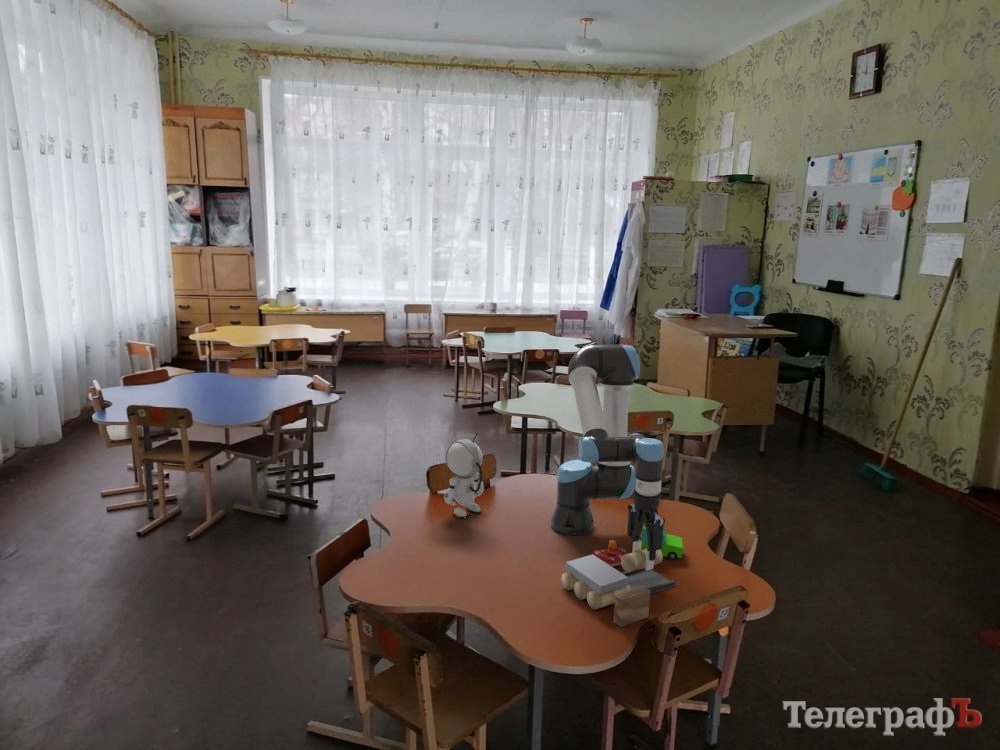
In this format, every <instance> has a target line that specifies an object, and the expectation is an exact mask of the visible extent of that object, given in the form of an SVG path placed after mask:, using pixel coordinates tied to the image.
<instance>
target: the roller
mask: <svg viewBox="0 0 1000 750" xmlns="http://www.w3.org/2000/svg"><path fill="white" fill-rule="evenodd" d="M663 557H664V556H663V555H662V552H661V550H657V551H656V558H655V560H654V566H655V565H659V564H661V563H662V562H663V559H664V558H663ZM645 560H646V549H644V550H641V551H637V552H633V551H632V552H631V553H630V552H629V553H628V554H626V555H623V556H622V558H621V565H620V566H621V567H622V569H623V570H624V572H625V571H626V572H631V571H635V570H638V569H642V568H645Z"/></svg>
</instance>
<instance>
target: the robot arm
mask: <svg viewBox="0 0 1000 750" xmlns="http://www.w3.org/2000/svg"><path fill="white" fill-rule="evenodd" d="M640 373H641V363H640V357H639V354H638V351H637V349H636V348H635V347H634V346H633V345H630V344H629V345H628V344H621V343H620V344H589V345H586V346H585V345H584V346H583V347H581V348H580V349H578V350H577V351H576V352H575V353H574V355H573V356H572V357H571V359H570V361H569V363H568V366H567V378H568V382H569V384H570V385H571V386H572V388H573V392H574V397H575V402H576V407H577V412H578V416H579V422H580V426H581V431H582V437H580V438H579V440H578V448H577V449H578V456H579V459H573V460H569V461H565V462H563V463H562V464H561V465H560V466H559V467H558V472H557V477H556V480H557V485H556V486H557V489H556V490H557V491H556V492H557V494H556V506H555V508H554V511H553V514H552V516H551V519H550V520H551V521H550V526H551V529H553V530H554V531H556V532H558V533H561V534H564V535H569V536H582V535H587V534H589V533H591V532H593V530H594V529H595V528H594V527H595V520H594V516H593V513H592V510H591V509H592V508H591V500H614V499H615V500H621V499H629V498H630V497H631V496H632V494H633V503H631V504H628V505H627V513H628V515H627V516H628V517H627V519H628V520H627V532H626V535H627V536H628V537H629V538H630V539H631V540H630V541H631V551H632V553H633V552H637V551H641V543H642V541H641V536H642V529H643V525H645V527H646V531H647V540H648V549H646V560H645V570H646V571H647V570H650V569H652V570H653V569H654V566H655V565H654V560H655V558H656V551H657V550H660V549H662V540H663V526H665V523H666V518H665V517H663V518H662V517H660V516H659V511H658V509H659V507H660V504H661V491H662V476H663V464H664V456H665V452H664V449H665V448H664V443H663V441H661V440H659V439H657V438H649V437H646V436H644V435H643V434H641V433H640V432H639V433H638V432H633V433H629V435H628V425H629V424H628V423H629V422H628V421H629V398H630V396H629V395H630V392H629V391H630V389H631V388H632V387H633V386H634V381H635V380H637V379H639V378H640ZM597 380H599V385H600V386H601V387H602V388H603V402H602V403H603V404H601V399H600V394H599V390H598V386H597V382H596V381H597ZM592 463H593V464H595V463H596V465H592ZM631 463H634V464H635V466H634V465H632V464H631ZM649 523H650V524H649Z"/></svg>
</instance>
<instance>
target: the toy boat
mask: <svg viewBox="0 0 1000 750" xmlns="http://www.w3.org/2000/svg"><path fill="white" fill-rule="evenodd" d="M608 541H609V542H608V548H604V549H601V550H598V549H596V550H594V551H593V553H592V554H593V555H594V556H596V557H597V558H599V559H600V560H602V561H604V562H605V563H607V564H608V565H610V566H611V567H613V568H614V567H618V566H622V565H621V558H622V556H623V555H626V554H629V552H628V551H627V550H626V549H625V548H623V547H617V542H616V541H615V540H613V539H612V540H608Z"/></svg>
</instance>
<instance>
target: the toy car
mask: <svg viewBox="0 0 1000 750" xmlns="http://www.w3.org/2000/svg"><path fill="white" fill-rule="evenodd" d="M649 524H650V523H649ZM664 526H665V525H664ZM664 526H663V540H662V549H660V550H661V552H662V555H663V557H667V559H669V560H670V561H675V560H677V559H679V558H680V559H682V558H683V553H684V546H683V545H684V544H683V543H684V540H683V538H682V537H681V536H677V535H673V534H668V533H667V532H666V530H665V527H664ZM640 537H641V539H640V540H641V541H642V543H641V550H644V549H648V540H647V531H646V527H645V525H643V529H642V532H641V536H640Z"/></svg>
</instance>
